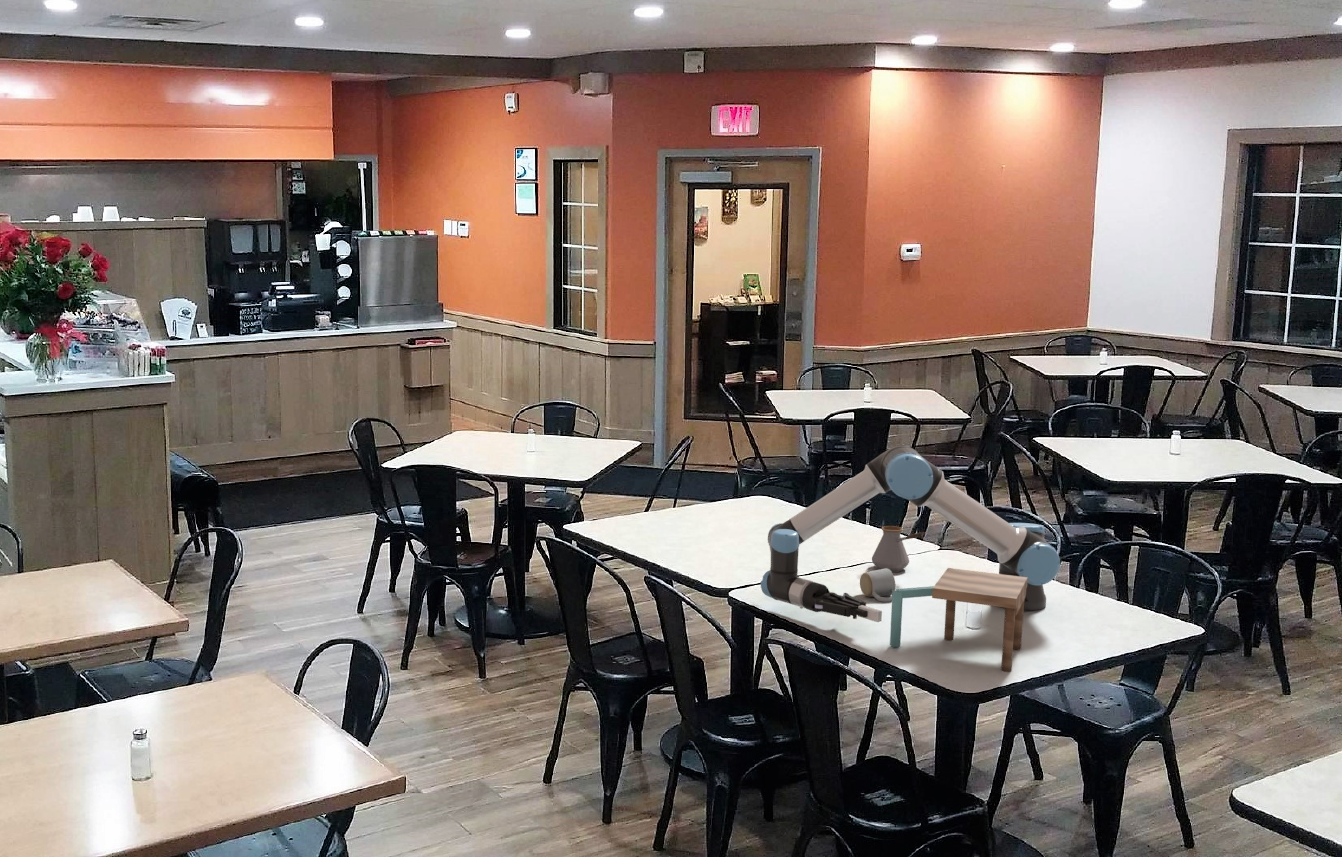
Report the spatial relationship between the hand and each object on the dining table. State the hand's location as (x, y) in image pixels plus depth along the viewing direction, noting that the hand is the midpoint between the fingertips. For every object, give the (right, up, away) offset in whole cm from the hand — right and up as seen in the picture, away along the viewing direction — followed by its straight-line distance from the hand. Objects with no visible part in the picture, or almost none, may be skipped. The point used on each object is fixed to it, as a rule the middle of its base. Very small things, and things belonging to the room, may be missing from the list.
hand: (879, 616), depth 330 cm
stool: (+23, -9, -6) cm, 25 cm away
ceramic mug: (+7, -1, +41) cm, 42 cm away
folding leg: (+10, -7, 0) cm, 12 cm away
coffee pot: (+17, +4, +66) cm, 68 cm away
